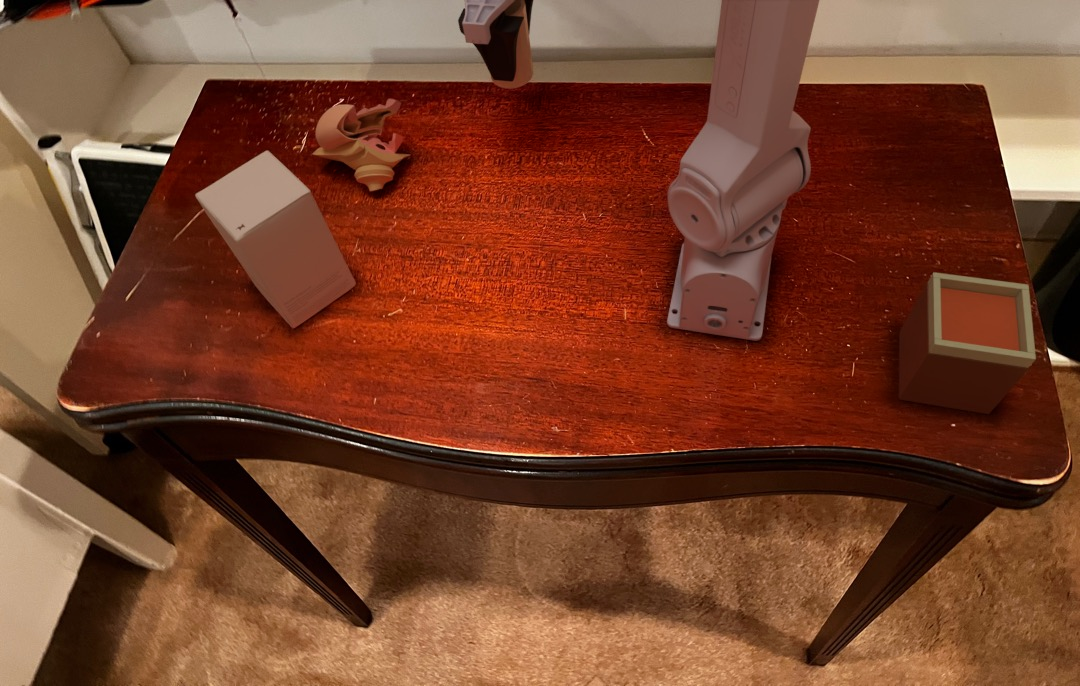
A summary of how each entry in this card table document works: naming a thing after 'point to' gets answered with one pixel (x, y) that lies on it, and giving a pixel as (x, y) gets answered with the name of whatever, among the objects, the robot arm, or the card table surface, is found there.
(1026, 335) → the holder
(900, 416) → the card table surface
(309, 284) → the white packaging box
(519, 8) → the beige hollow cylinder
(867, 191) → the card table surface
